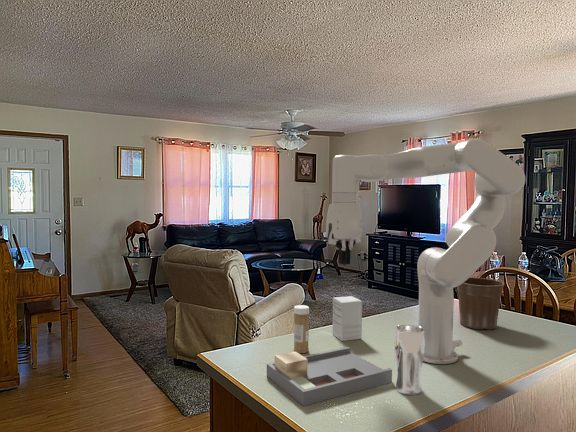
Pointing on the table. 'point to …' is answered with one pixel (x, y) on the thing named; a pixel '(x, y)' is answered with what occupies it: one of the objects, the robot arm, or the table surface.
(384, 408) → the table surface
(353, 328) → the supplement box
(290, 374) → the maple block
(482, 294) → the plant pot
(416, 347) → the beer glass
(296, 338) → the sprinkles bottle
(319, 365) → the box
